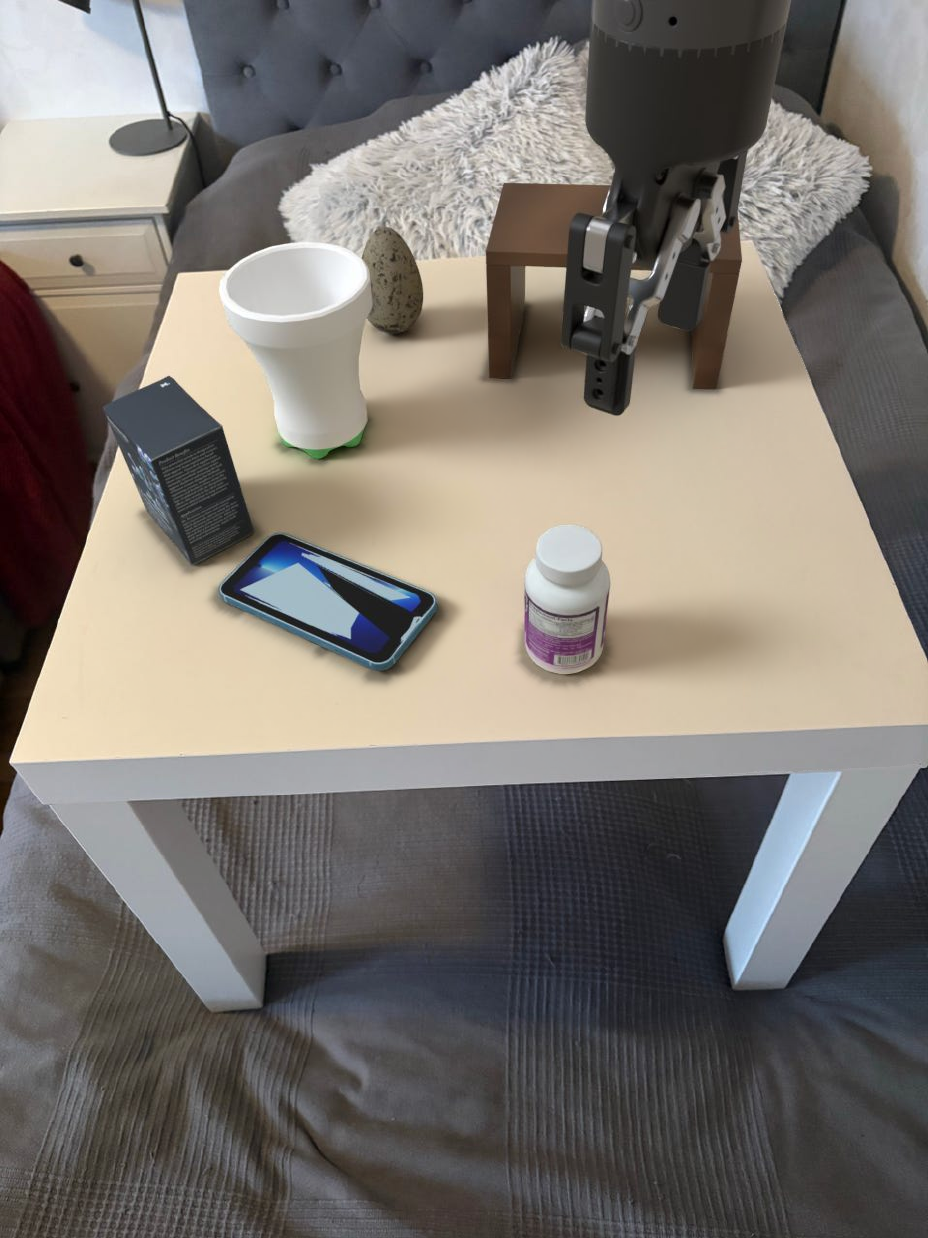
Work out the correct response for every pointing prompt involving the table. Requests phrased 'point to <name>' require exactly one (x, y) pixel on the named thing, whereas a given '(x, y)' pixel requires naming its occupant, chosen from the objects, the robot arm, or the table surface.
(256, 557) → the smartphone
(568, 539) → the pill bottle
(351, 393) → the cup
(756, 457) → the table surface
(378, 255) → the decorative egg
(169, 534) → the box
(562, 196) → the desk shelf
